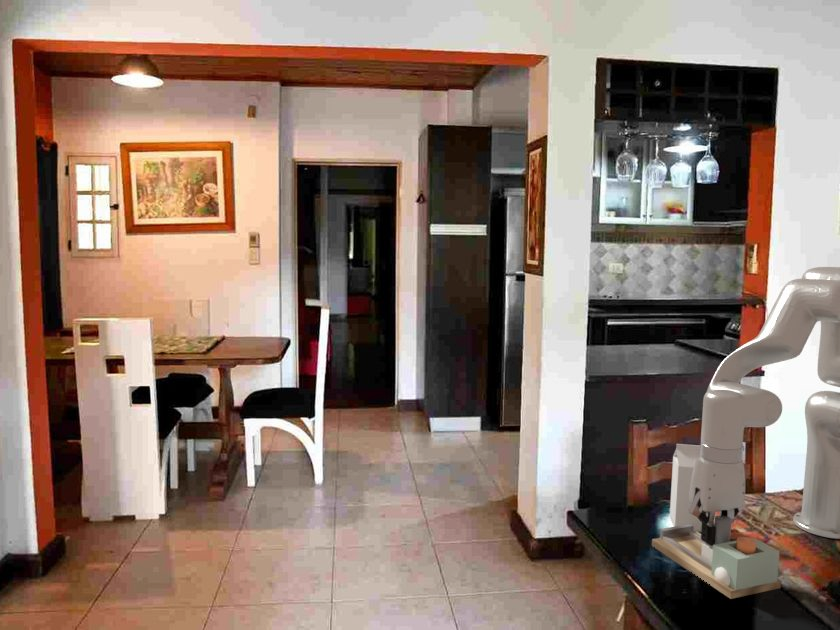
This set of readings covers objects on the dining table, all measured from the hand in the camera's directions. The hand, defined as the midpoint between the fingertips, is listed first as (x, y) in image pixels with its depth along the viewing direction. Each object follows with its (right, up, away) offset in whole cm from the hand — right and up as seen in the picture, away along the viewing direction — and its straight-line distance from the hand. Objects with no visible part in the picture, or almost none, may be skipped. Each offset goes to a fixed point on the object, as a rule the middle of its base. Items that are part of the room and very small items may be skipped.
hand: (715, 540), depth 133 cm
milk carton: (+3, -3, +20) cm, 20 cm away
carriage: (+1, -4, -1) cm, 4 cm away
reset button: (+3, 0, -7) cm, 8 cm away
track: (0, -5, +1) cm, 6 cm away
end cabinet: (+2, -6, -7) cm, 9 cm away
